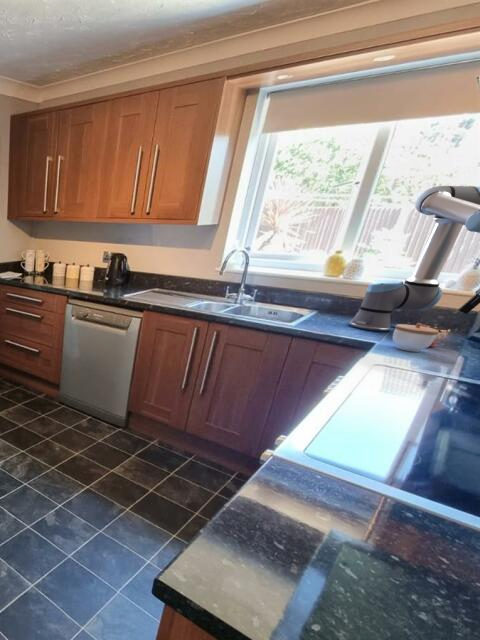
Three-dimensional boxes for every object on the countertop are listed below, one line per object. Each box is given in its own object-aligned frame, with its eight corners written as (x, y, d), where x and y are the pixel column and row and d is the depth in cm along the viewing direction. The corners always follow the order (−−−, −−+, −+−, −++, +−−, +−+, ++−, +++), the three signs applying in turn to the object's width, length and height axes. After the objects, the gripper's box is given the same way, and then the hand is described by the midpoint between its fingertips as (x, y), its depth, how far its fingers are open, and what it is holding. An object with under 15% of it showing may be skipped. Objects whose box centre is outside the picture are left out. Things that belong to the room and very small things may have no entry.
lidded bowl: (433, 355, 168) (446, 328, 164) (391, 349, 174) (402, 323, 170) (423, 348, 178) (435, 322, 174) (383, 343, 184) (394, 318, 180)
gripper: (548, 264, 145) (477, 320, 160) (533, 258, 155) (468, 313, 169) (522, 253, 148) (455, 310, 162) (509, 249, 157) (447, 303, 171)
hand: (462, 311), depth 165 cm, fingers closed
